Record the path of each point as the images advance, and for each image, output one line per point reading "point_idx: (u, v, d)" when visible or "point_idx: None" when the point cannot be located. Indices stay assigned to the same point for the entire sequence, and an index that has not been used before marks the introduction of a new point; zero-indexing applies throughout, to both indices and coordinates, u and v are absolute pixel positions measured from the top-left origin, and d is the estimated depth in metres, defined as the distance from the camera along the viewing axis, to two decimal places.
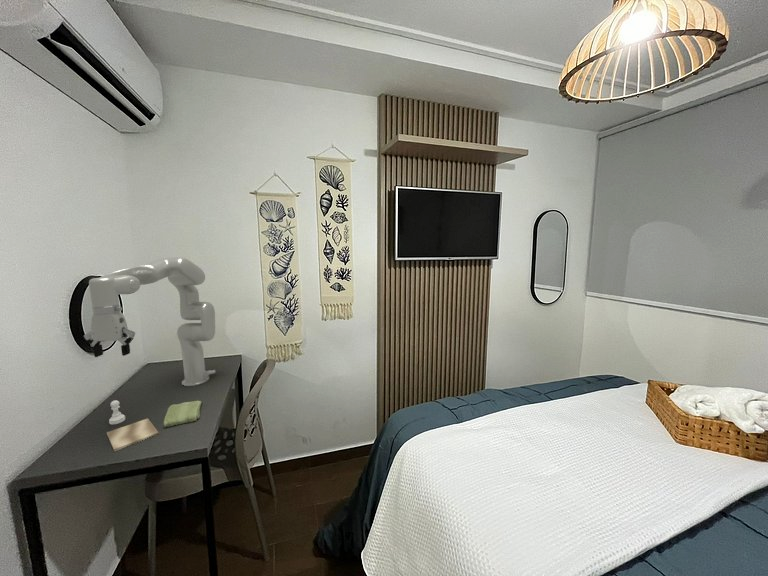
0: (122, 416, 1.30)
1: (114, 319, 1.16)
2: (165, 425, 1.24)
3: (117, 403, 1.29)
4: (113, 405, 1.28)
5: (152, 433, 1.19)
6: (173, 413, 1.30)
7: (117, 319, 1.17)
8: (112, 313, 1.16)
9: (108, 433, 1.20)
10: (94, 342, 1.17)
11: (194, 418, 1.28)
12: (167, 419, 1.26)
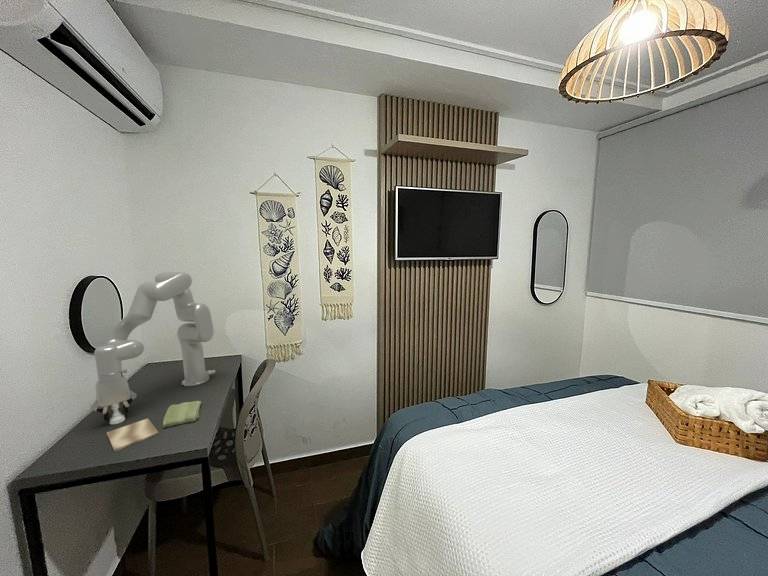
0: (122, 416, 1.30)
1: (124, 381, 1.29)
2: (164, 425, 1.24)
3: (117, 403, 1.29)
4: (113, 405, 1.28)
5: (152, 433, 1.19)
6: (172, 413, 1.30)
7: (126, 381, 1.30)
8: (122, 376, 1.29)
9: (108, 433, 1.20)
10: None
11: (193, 418, 1.28)
12: (166, 419, 1.26)
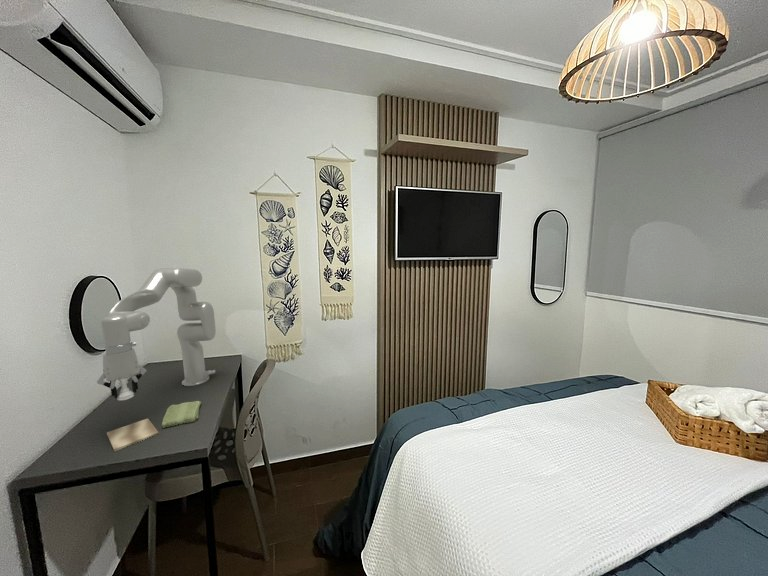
0: (131, 392, 1.21)
1: (133, 354, 1.20)
2: (163, 425, 1.23)
3: (125, 378, 1.20)
4: (121, 380, 1.19)
5: (152, 433, 1.19)
6: (172, 413, 1.30)
7: (135, 354, 1.21)
8: (131, 349, 1.20)
9: (108, 433, 1.20)
10: (114, 383, 1.17)
11: (192, 419, 1.27)
12: (166, 419, 1.26)
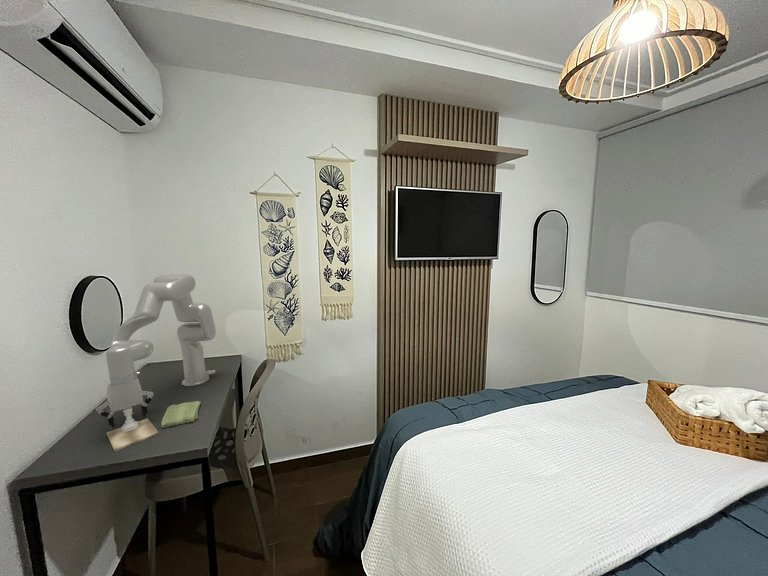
0: (135, 423, 1.23)
1: (136, 384, 1.22)
2: (162, 426, 1.23)
3: (130, 409, 1.22)
4: (126, 411, 1.21)
5: (152, 433, 1.19)
6: (171, 414, 1.30)
7: (139, 383, 1.23)
8: (135, 379, 1.21)
9: (108, 433, 1.20)
10: (111, 413, 1.17)
11: (191, 419, 1.27)
12: (165, 420, 1.25)
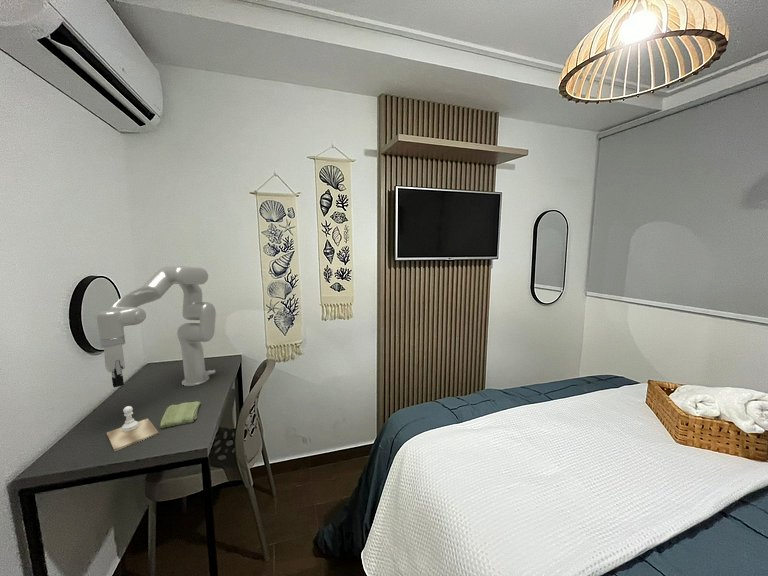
0: (135, 423, 1.23)
1: None
2: (161, 426, 1.23)
3: (130, 409, 1.22)
4: (126, 411, 1.21)
5: (152, 433, 1.19)
6: (171, 414, 1.30)
7: None
8: None
9: (108, 433, 1.20)
10: (121, 371, 1.28)
11: (191, 419, 1.27)
12: (164, 420, 1.25)
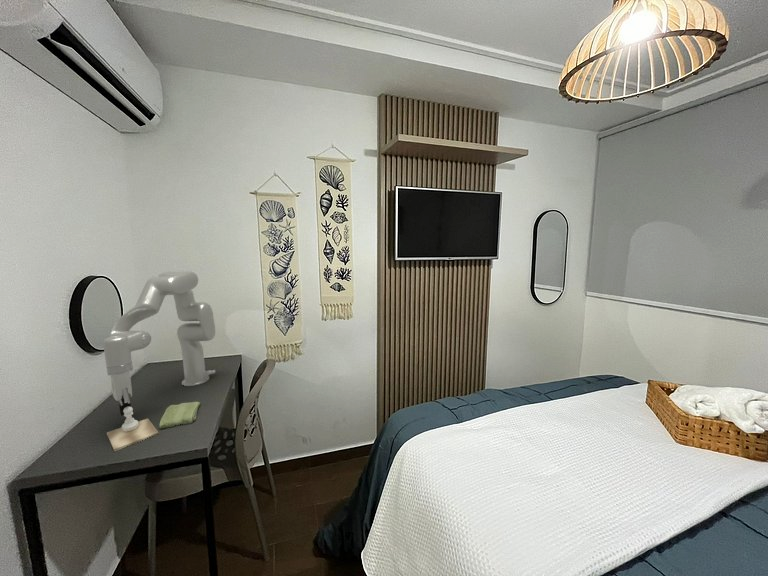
0: (135, 423, 1.23)
1: None
2: (161, 426, 1.23)
3: (130, 410, 1.21)
4: (126, 412, 1.20)
5: (152, 433, 1.19)
6: (170, 414, 1.30)
7: None
8: None
9: (108, 433, 1.20)
10: None
11: (190, 420, 1.27)
12: (163, 420, 1.25)
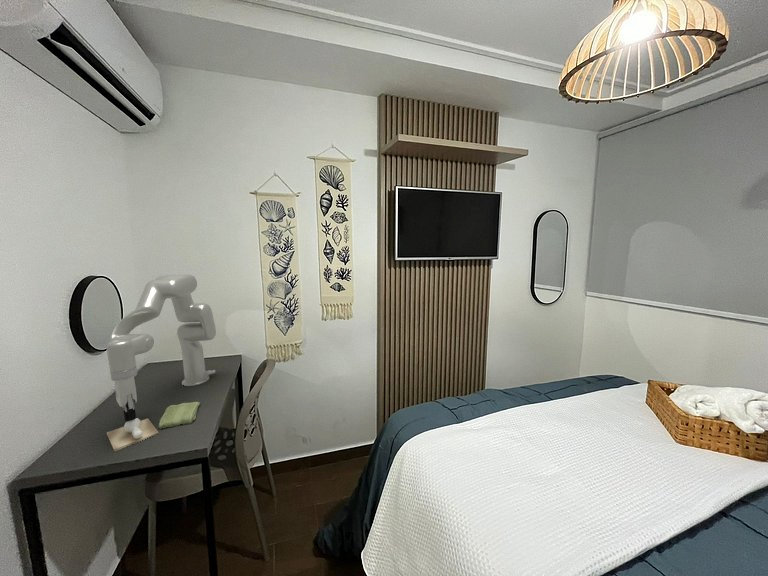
0: (138, 428, 1.21)
1: None
2: (160, 426, 1.23)
3: None
4: None
5: (152, 433, 1.19)
6: (170, 414, 1.30)
7: None
8: None
9: (108, 433, 1.20)
10: (133, 404, 1.19)
11: (189, 420, 1.26)
12: (163, 420, 1.25)
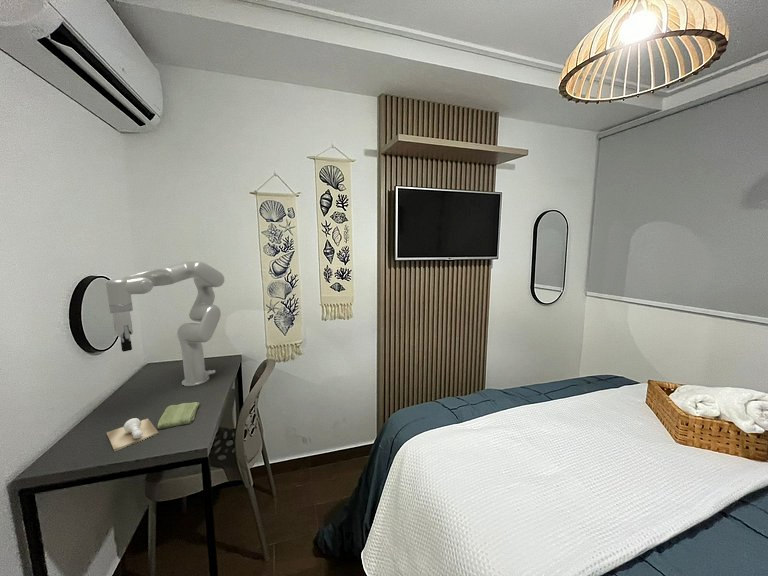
0: (138, 428, 1.21)
1: None
2: (159, 427, 1.23)
3: None
4: None
5: (152, 433, 1.19)
6: (169, 414, 1.30)
7: None
8: None
9: (108, 433, 1.20)
10: (129, 337, 1.36)
11: (188, 420, 1.26)
12: (161, 420, 1.25)
